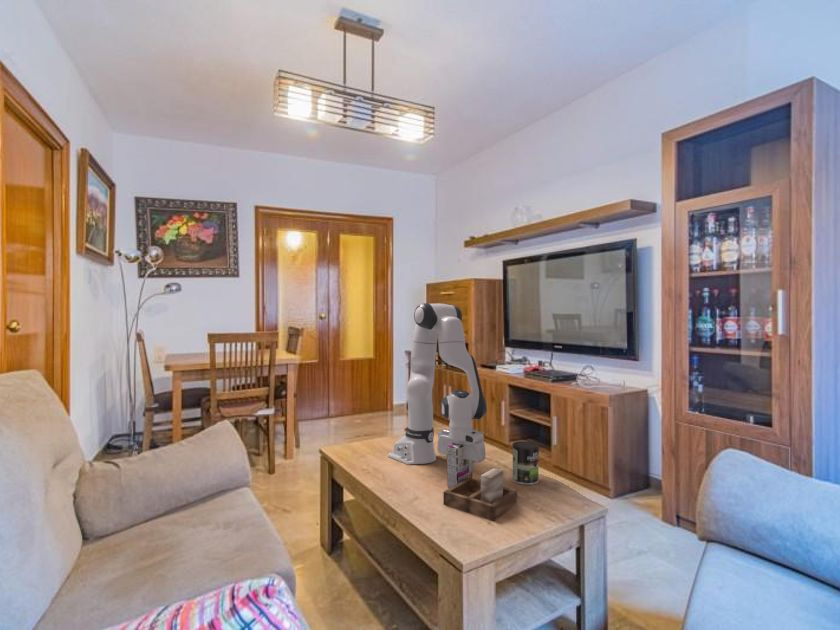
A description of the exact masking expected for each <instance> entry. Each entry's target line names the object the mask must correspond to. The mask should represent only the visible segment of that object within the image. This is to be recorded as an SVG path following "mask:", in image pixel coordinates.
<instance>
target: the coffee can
mask: <svg viewBox="0 0 840 630" xmlns="http://www.w3.org/2000/svg"><path fill="white" fill-rule="evenodd" d="M539 449H540V446H539V444H537V443H536V442H533V441H532V442H531V441H525V440H524V441H521V440H520V441H515V442H513V443H512V478H511V479H512V481H513V482H515V483H516V484H519V485H522V486H523V485H525V486H531V485H532V486H533V485H536V484H538V483H539V482H540V481H539V460H540V459H539V455H540V452H539V451H540V450H539Z"/></svg>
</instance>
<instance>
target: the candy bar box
mask: <svg viewBox="0 0 840 630" xmlns="http://www.w3.org/2000/svg"><path fill="white" fill-rule="evenodd" d="M446 460H447V461H446V463H447V464H446V465H447V471H446V472H447V475H446V476H447V478H446V479H447V489H449V488H451V487H453V486H454V485H456V484H458V483H460V482H462V481H463V480H465V479H467V478H472V479H473V470H472V471H471V472H470V471H467V466H469V465H470V463H469V460H466V459H463V445H461V444H455V443H452V444H450V445H448V446H447V455H446Z"/></svg>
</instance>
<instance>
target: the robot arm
mask: <svg viewBox="0 0 840 630" xmlns="http://www.w3.org/2000/svg"><path fill="white" fill-rule="evenodd" d="M462 313H463V312H462V311H461V309H460V308H459V307H458V306H456V305H453V304H446V303H439V302H438V303H428V302H425V303H420V304H418V305H417V307H415V310H414V314H413V318H414V321H415V322H414V323H415V325H414V330H413V335H412V341H411V351H410V354H411V355H410V372H409V373H410V375H409V380H408V382H407V384H406V393H407V395H406V396H407V398H406V399H407V410H408V411H407V412H408V414H407V415H408V420H407V421H408V426H407V427H406V428H404V429H403V432H405V433H404V435H403V436H401V437H400V438H399V439H398V440H396V441H395V442H394V444H393V450H392V451H390V452H389V453H388V457H389V458H391V459H393V460H396V461H398V462H400V463H403V464H405V465H424V464H430V463H434V462H435V461H437V456H436V451H435V445H434V437H435V430H434V428H435V427H434V406H433V405H434V403H433V388H434V384H435V383H434V382H435V372H436V371H435V369H436V368H435V367H436V357H437V347H438V354H439V357H440V358H441V360H442V361H443V362H444V363H445V364H447V365H450V366H453V367H455V368H458V369H460V370H463V371H464V373H465V374H466V375H467V379H468V384H469V388H470V392H469V391H466V390H464V389H456V390H452V391H451V392H450V393H449V395H447V396H445V397H443V399H441V401H440V413H441V416H443V417H444V418H445V419H446V420H449V424H448V430H446V429H440V430H439V431H438V433H437V447H436V450H437V453H438V454H441V455H445V456H447V446H448V445H450V444H452V443H455V444H461V445H463V459H466V460H469V463H470V465H469V466H467V471H470V472H471V471H472V472H473V466H474V465H475V463H482V462H483V461H485V459H486V457H487V456H486V445H485V442H484V441H483V440H484V438H485V435H484V434H483V433H481V432H480V431H478V430H477V429H475V428H473V424H472V420H481V419H482V418H483V417H484V416H485V415H486V414H487V410H488V408H487V402H486V398H485V394H484V392H483V389H482V384H481V380H480V376H479V371H478V368H477V367H478V366H477V364H476V360H475V357H474V356H473V355H471V354H470V353H469V351H468V349H467V347H466V339H465V338H466V337H465V331H464V325H463V322H462V320H463V314H462Z"/></svg>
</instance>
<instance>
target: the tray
mask: <svg viewBox="0 0 840 630" xmlns="http://www.w3.org/2000/svg"><path fill="white" fill-rule="evenodd" d="M469 493H473V494H470V495H469V496H466V495H467V494H469ZM442 494H443V495H442V496H443V499H442V501H443V505H444V506H447V507H450V508H453V509H455V510H460V511H463V512H465V513H469V514H472V515H475V516H477V517H480V518H484V519H487V520H491V521H492V522H493V521H496V520H497V519H498V518H500V517H502V515H503V514H505V513H506V512H507V511H509V510H510V509H511V508H513V507H514V506H516V505H517V504H518V490H516V489H513V488H509V487H505V486H504V471H503V469H499V468H496V467H493V468H491V469H490V470H488V471H486V472H485V473H483V474H481V475H480V480H479V479H475V478H473V477H472V478H467V479H465V480H463V481H462V482H460V483H458V484H456V485H454V486H453V487H451V488H447V489H446V490H444V491H443V493H442Z"/></svg>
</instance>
